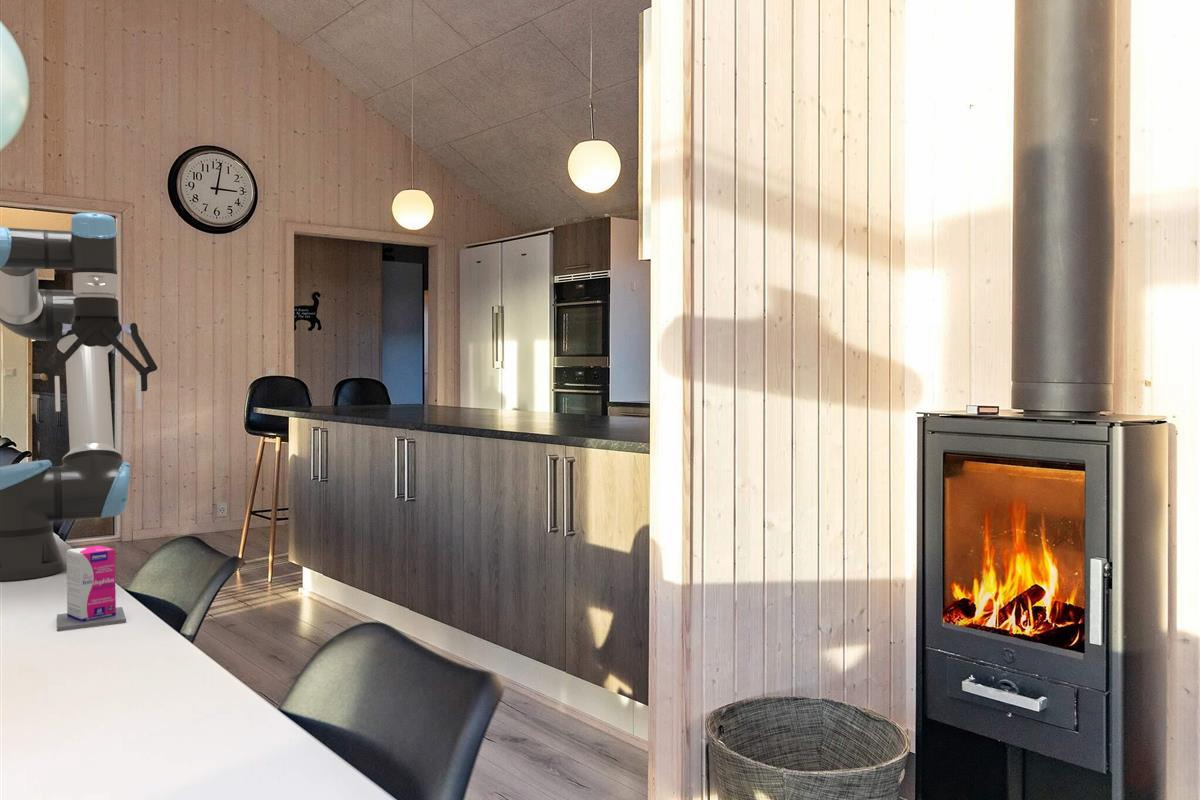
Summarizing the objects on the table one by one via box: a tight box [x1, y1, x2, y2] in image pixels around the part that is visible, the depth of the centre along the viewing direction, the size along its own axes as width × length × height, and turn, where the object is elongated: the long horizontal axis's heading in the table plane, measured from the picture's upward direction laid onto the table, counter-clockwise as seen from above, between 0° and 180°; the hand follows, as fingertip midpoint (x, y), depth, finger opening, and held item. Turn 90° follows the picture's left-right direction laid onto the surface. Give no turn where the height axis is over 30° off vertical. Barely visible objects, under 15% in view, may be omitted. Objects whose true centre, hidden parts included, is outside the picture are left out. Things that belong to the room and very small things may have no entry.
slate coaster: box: [56, 606, 127, 632], centre depth 165 cm, size 10×10×1 cm
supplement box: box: [66, 545, 117, 622], centre depth 165 cm, size 6×6×12 cm
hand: (99, 410), depth 184 cm, fingers open, 13 cm apart
